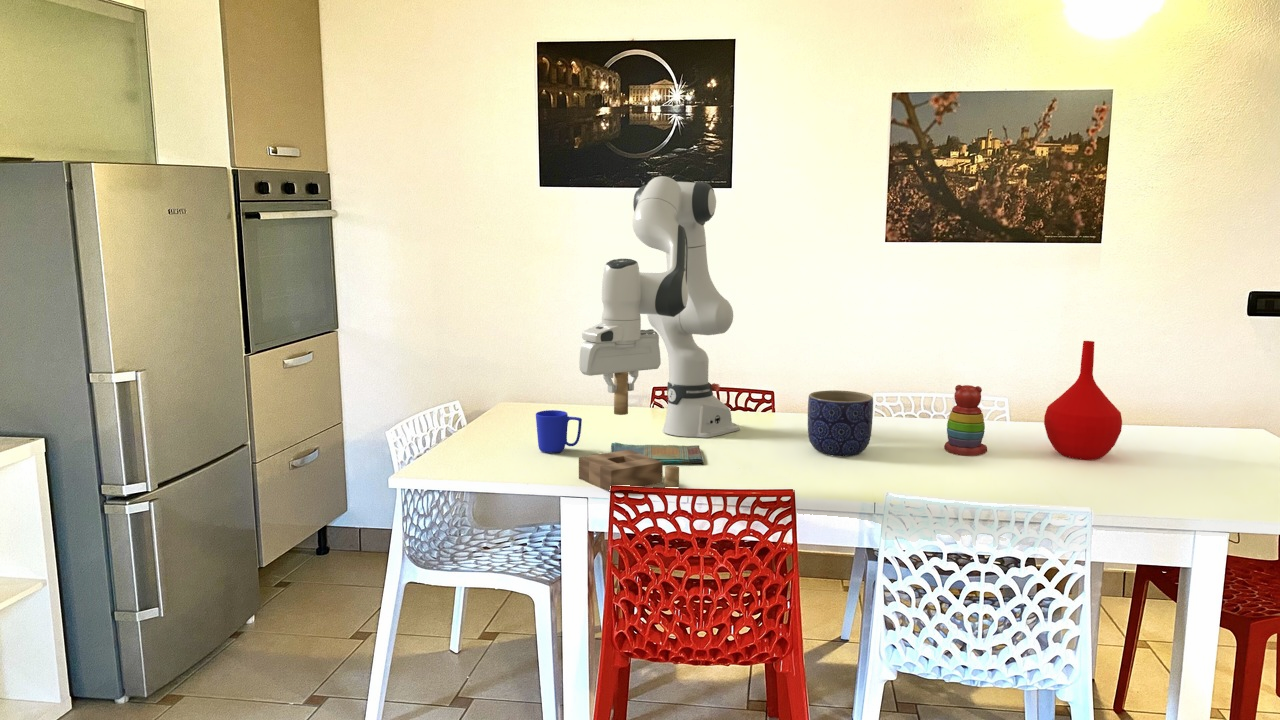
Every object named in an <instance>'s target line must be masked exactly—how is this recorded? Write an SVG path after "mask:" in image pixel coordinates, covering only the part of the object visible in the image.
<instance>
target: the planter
mask: <svg viewBox="0 0 1280 720" xmlns="http://www.w3.org/2000/svg"><path fill="white" fill-rule="evenodd" d="M873 413H874V398H873V396H872V395H870V394H868V393H863V392H858V391H849V390H835V389H834V390H832V389H831V390H818V391H813V392H811V393H809V394H808V402H807V435H808V436H807V437H808V440H809V442H810V444H811V446H812V447H813V448H814V450H816V452H819V453H821V454H822V455H826V454H827V455H826V456H831V455H833V456H834V457H853V455H854V456H857V455H859V454H861V453H863V452H864V451H865V450H866V449H867V447H868V446H869V444H870V441H871V437H872V430H873V429H872V428H873V416H874V415H873ZM833 456H832V457H833Z"/></svg>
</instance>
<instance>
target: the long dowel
mask: <svg viewBox="0 0 1280 720" xmlns="http://www.w3.org/2000/svg"><path fill="white" fill-rule="evenodd" d="M628 380H629V374H628V372H622V373H613V383H614V384H615V385H617V392H616V393H613V414H614V415H617V416H623V415H625V416H626V415H628V414H629V391H628Z"/></svg>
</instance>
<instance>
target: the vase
mask: <svg viewBox="0 0 1280 720" xmlns="http://www.w3.org/2000/svg"><path fill="white" fill-rule="evenodd" d="M1094 359H1095V341H1093V340H1083V341H1082V349H1081V359H1080V368H1079V369H1080V371H1079V375H1078V378H1077V379H1076V381H1075V382H1074V383H1073V384H1072V385H1071V386H1070V387H1068V388H1067V390H1065V391H1064V392H1063V393H1062V394H1061V395H1060V396H1059V397H1057V398H1056V399H1055V400H1053V401H1052V402H1051V403H1050V404H1048V405H1047V407H1046V411H1045V414H1044V416H1043V417H1044V418H1043V419H1044V420H1043V423H1044V429H1045V432H1046V436H1047V439H1048V441H1049V442H1050V445H1052V447H1053V448H1054V450H1055V451H1056V452H1057V453H1058V454H1059V455H1060V456H1063V457H1065V458H1069V459H1072V460H1073V459H1074V460H1082V461H1092V460H1100V459H1102V458H1103V457H1105V456H1106V455H1107V454H1109V453H1110V451H1111V450H1112V449H1113V448H1114V447H1115V446H1116V443H1117V441H1118V439H1119V437H1120V435H1121V433H1122V430H1123V419H1122V413H1121V411H1120V410H1119V409H1118V408H1117V407H1116V406H1115V405H1114V404H1113V403H1112V401H1111V400H1110V399H1109V398H1108V397H1107V396H1106V395H1105V393H1104V392H1103V390H1102V389H1101V388H1100V387H1099V385H1098V384H1097V383H1096V380H1095V379H1094V363H1095V362H1094V361H1095V360H1094Z"/></svg>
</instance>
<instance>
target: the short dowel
mask: <svg viewBox="0 0 1280 720" xmlns="http://www.w3.org/2000/svg"><path fill="white" fill-rule="evenodd" d="M665 487H679V488H680V466H678V465H666V466H665V467H664V488H665Z"/></svg>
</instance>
